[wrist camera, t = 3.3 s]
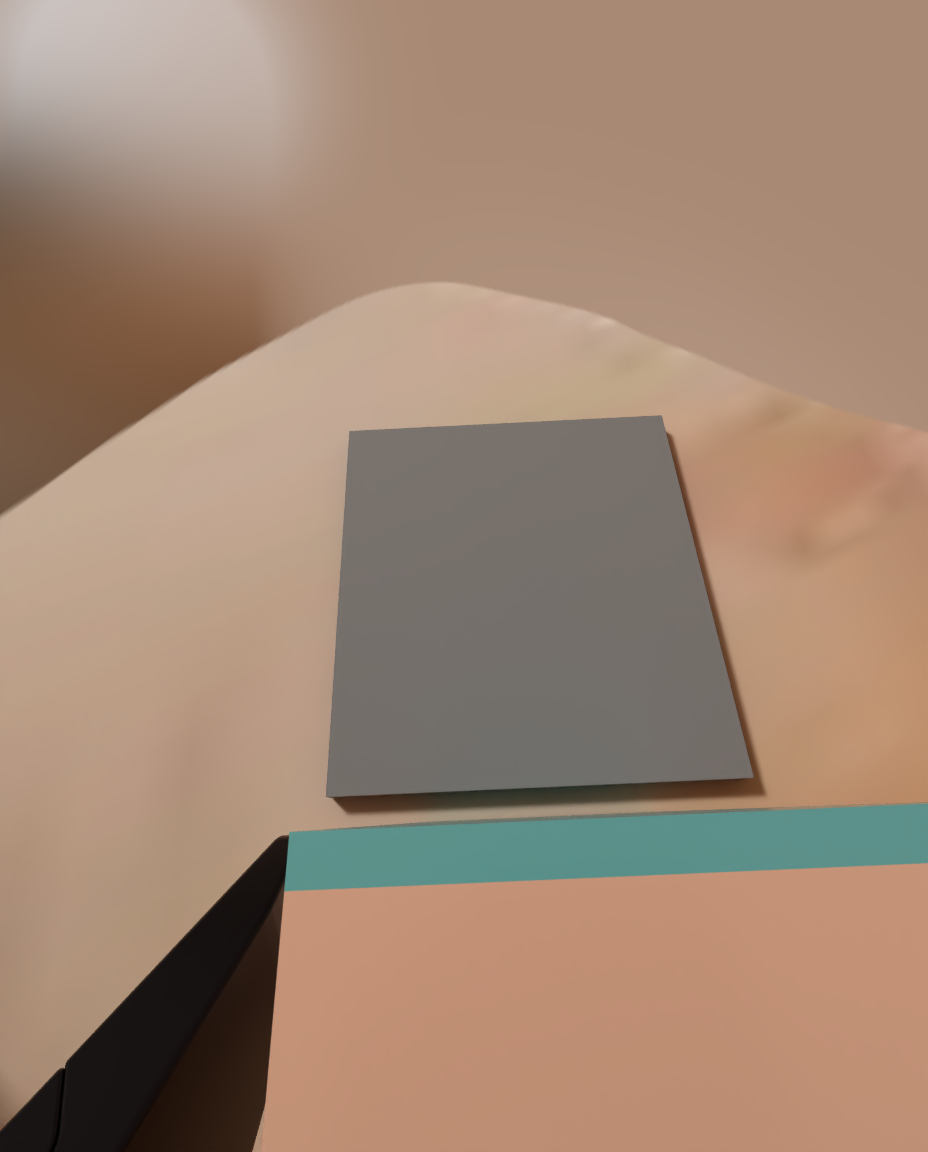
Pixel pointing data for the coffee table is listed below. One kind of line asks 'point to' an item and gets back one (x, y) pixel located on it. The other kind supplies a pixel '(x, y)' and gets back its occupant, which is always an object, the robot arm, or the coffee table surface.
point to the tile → (606, 984)
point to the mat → (523, 615)
